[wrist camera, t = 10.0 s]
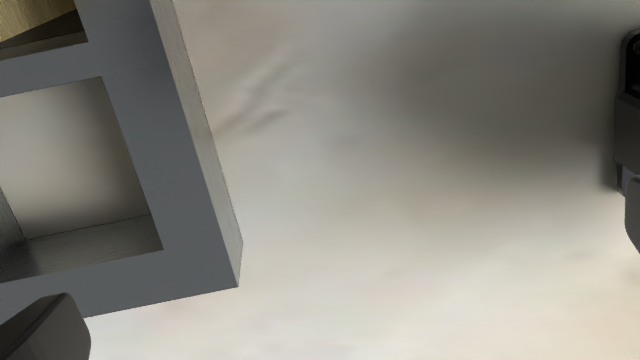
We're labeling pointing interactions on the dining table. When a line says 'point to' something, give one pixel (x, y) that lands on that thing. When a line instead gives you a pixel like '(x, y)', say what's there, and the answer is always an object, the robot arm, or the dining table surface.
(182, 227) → the grey slotted tray
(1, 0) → the brass block
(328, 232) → the dining table surface
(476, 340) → the dining table surface
